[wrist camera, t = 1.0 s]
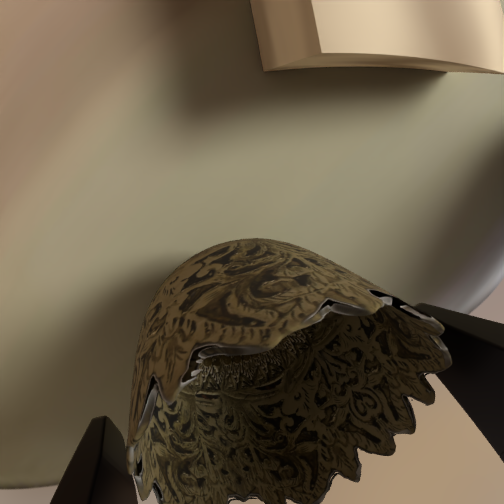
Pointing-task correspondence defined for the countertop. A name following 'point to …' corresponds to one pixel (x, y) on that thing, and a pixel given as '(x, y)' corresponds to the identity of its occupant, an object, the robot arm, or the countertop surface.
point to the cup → (272, 376)
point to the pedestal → (381, 34)
